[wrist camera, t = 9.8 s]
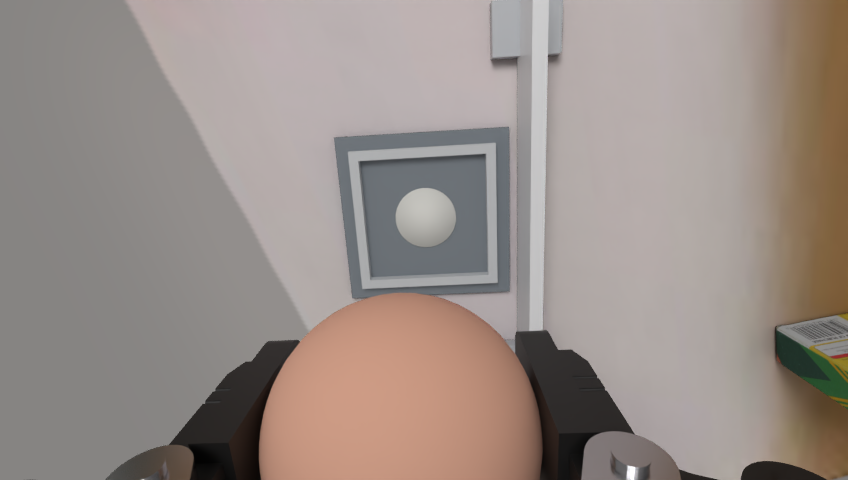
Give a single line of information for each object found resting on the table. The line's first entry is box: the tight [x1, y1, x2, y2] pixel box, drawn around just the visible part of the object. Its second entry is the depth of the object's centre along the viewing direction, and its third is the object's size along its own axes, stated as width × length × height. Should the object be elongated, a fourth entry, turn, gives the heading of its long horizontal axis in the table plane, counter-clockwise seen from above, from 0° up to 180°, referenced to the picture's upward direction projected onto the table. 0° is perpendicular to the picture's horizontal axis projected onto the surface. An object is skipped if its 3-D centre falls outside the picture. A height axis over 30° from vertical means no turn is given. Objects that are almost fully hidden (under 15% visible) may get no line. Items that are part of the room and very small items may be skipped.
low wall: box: [490, 0, 563, 353], centre depth 25 cm, size 4×26×4 cm, turn 3°
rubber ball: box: [259, 293, 543, 480], centre depth 8 cm, size 6×6×6 cm
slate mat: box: [334, 127, 510, 298], centre depth 27 cm, size 11×11×1 cm
